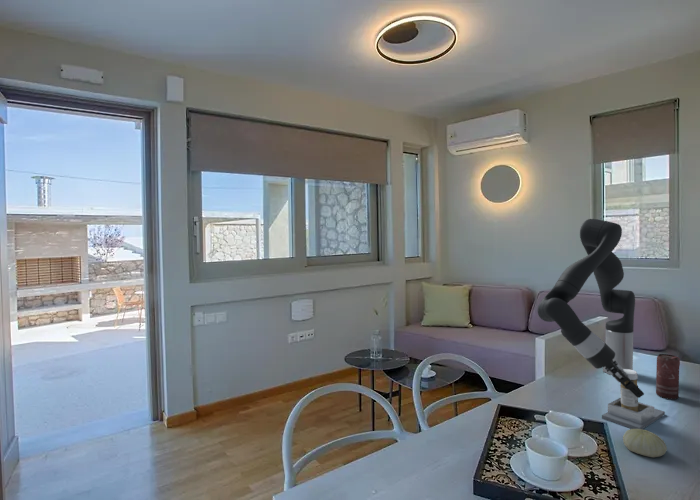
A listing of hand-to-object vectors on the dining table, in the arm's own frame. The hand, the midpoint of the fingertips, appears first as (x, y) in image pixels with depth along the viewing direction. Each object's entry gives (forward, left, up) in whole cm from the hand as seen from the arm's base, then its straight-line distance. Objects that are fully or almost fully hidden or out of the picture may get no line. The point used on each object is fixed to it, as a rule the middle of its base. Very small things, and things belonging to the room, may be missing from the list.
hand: (638, 391), depth 126 cm
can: (-1, +27, -9) cm, 28 cm away
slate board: (-1, +1, -8) cm, 9 cm away
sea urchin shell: (+8, -18, -9) cm, 22 cm away
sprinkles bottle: (-2, -1, -7) cm, 8 cm away
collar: (-1, -1, -7) cm, 8 cm away
